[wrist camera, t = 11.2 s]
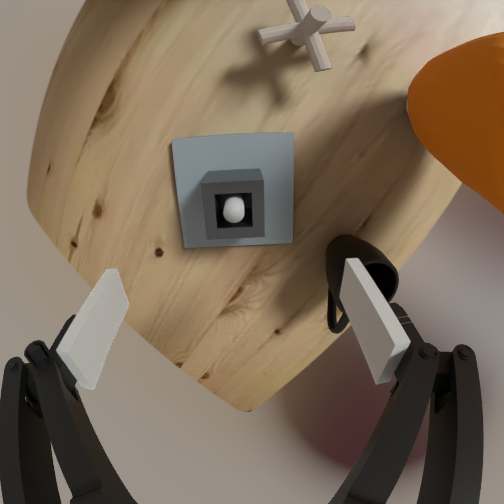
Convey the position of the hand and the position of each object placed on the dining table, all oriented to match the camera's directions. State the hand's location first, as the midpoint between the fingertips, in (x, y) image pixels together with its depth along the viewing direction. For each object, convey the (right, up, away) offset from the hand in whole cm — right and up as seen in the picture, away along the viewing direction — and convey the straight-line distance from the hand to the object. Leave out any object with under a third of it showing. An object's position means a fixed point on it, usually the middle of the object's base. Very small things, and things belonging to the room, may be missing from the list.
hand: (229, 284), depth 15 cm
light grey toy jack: (+7, +27, +9) cm, 29 cm away
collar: (-1, +9, +17) cm, 19 cm away
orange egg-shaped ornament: (+24, +21, +13) cm, 34 cm away
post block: (-1, +9, +18) cm, 20 cm away
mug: (+14, 0, +24) cm, 27 cm away
